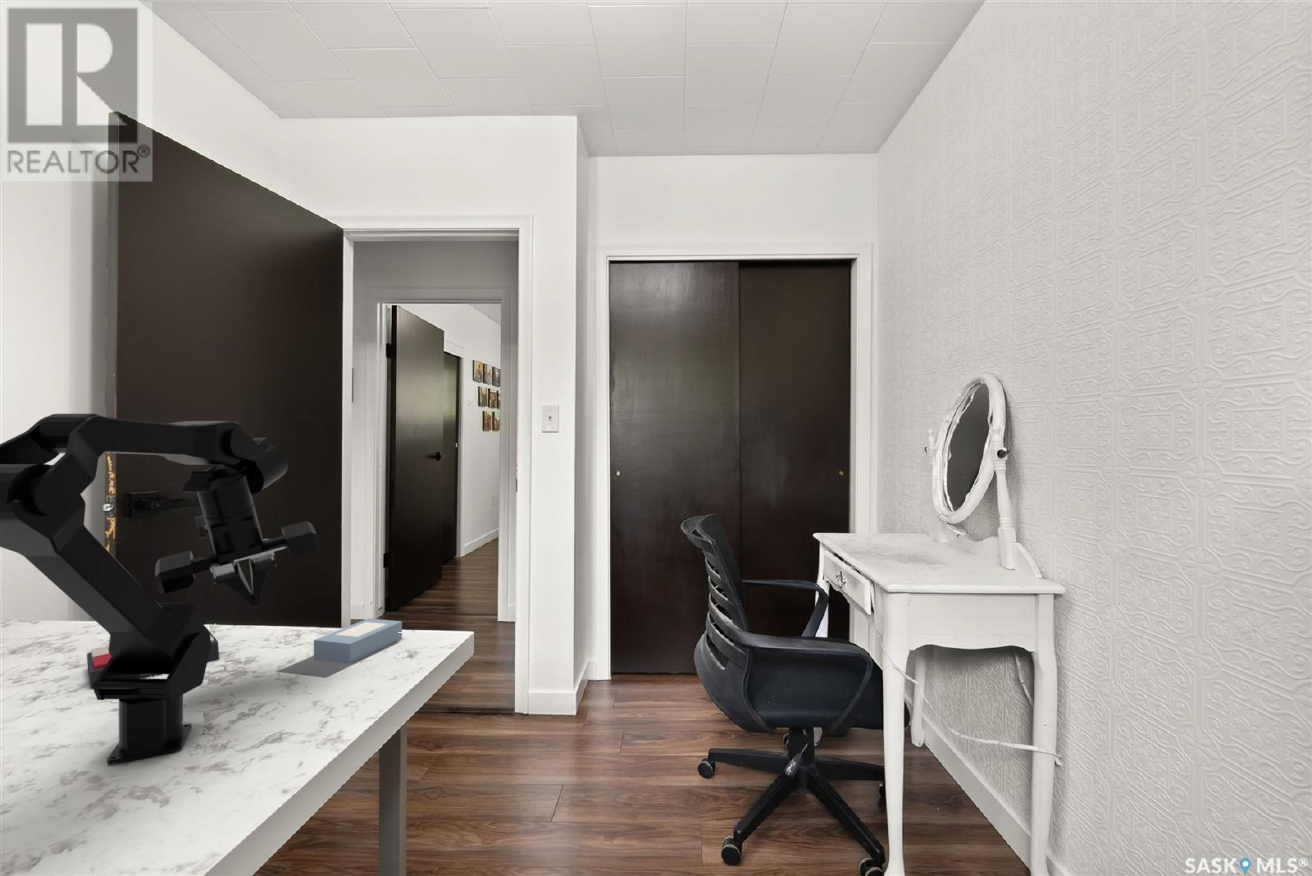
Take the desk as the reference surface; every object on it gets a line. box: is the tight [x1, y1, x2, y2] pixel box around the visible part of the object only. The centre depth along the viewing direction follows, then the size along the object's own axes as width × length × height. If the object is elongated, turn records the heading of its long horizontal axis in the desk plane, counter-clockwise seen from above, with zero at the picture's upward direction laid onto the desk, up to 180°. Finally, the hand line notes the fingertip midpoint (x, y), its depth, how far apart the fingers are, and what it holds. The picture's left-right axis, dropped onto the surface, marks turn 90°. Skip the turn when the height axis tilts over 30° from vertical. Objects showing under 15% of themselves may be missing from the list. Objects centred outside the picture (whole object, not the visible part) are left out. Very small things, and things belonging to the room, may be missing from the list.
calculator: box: [86, 629, 220, 690], centre depth 95 cm, size 11×4×15 cm
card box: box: [313, 617, 403, 663], centre depth 102 cm, size 3×7×12 cm
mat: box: [276, 641, 400, 679], centre depth 98 cm, size 16×9×1 cm, turn 165°
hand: (255, 605), depth 88 cm, fingers closed
